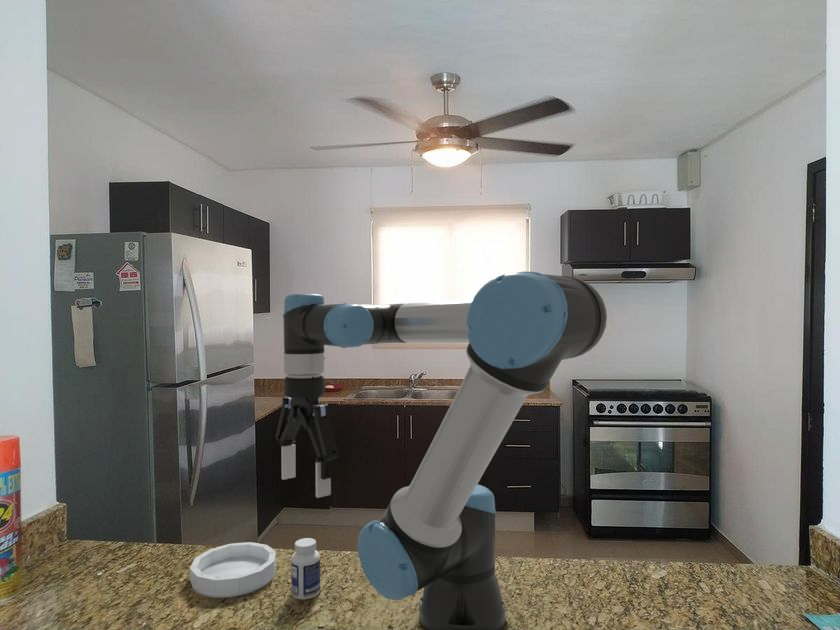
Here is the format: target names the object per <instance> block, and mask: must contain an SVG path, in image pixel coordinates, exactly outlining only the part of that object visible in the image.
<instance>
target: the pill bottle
mask: <svg viewBox="0 0 840 630" xmlns="http://www.w3.org/2000/svg"><path fill="white" fill-rule="evenodd" d="M320 556H321V555H320V552H319V551H318V550H317V540H316V539H314V538H311V537H304V538H300V539H297V540H296V541H295V542H294V553H293V554H292V555H291V559H290V569H291V570H290V576H291V577H290V578H291V579H290V581H291V587H290V588H291V589H290V590H291V596H292V597H293V598H294V599H296V600H311V599H313V598H315V597H317V596H318V595H319V594H320V592H321V557H320Z"/></svg>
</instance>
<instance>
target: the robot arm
mask: <svg viewBox="0 0 840 630" xmlns="http://www.w3.org/2000/svg"><path fill="white" fill-rule="evenodd" d="M283 305H284V309H283V313H282V314H283V315H282V317H283V349H284V350H283V374H285V375H287V376H285V378H283V382H284V383H283V384H284V385H283V387H284V389H283V391H284V396H283V397H282V400H281V401H282V402H281V403H282V405H281V411H280V416H279V418H278V419H279V421H278V422H277V423H278V424H277V428H276V432H275V440H276V441H279V445H280V446H281V448H280V449H281V453H280V454H281V459H280V461H281V464H280V465H281V480H283V481H284V480H288V479H293V478H296V477H297V473H296V472H297V470H296V469H297V468H296V467H297V466H296V465H297V464H296V459H297V455H296V449H297V447H296V443H297V442H296V437H297V434H298V432H299V430H300V428H301V426H303V428H304V430H305V431H307V432H308V435H309V437H310V440H311V443H312V446H313V449H314V452H315V454H316V458H315V460H314V462H315V497H316V498H317V499H319V498H322V497H327V496H331V495H332V486H331V485H332V480H331V479H332V478H331V477H332V461H333V460H334V459H338V458H339V456H340V455H339V450H338V446H337V443H336V442H337V441H336V438H335V434H334V430H333V426H332V422H331V418H330V407H329V405H328V403H324V404H320V401H319V399H320V397H322V396H324V394H325V393H326V391H325V389H326V387H325V380H326V379H325V376H324V375H322V374H324V373H325V360H326V357H325V346H330V347H338V348H339V347H340V348H342V349H346V348H358V347H362V346H363V345H364V346H366V345H375V344H376V345H377V344H407V343H408V344H409V343H413V344H415V343H416V344H417V343H419V344H420V343H422V344H426V343H428V344H429V343H434V344H435V343H436V344H437V343H439V344H442V343H444V344H446V343H448V344H449V343H450V344H453V343H454V344H459V343H460V344H462V343H463V344H464V343H466V344H467V347H466V351H465V353H466V355H467V358H468V359H469V362H470V366H469V368H468V370H467V372H466V374H465V376H464V378H463V380H462V382H461V384H460V386H459V388H458V390H457V392H456V393H455V396H454V398H453V400H452V402H451V404H450V406H448V407H449V408H448V409H447V412H446V413H445V415H444V417H443V419H442V421H441V423H440V425H439V426H438V429H437V431H436V433H435V435H434V437H433V439H432V441H431V443H430V446H429V447H428V448H427V451H426V453H425V455H424V457H423V459H422V461H421V463H420V464H419V467H418V469H417V470H416V473H415V475H414V477H413V479H412V480H411V482H410V484H409V485H408V486H403V487H402V488H400V489H398V490H397V491H396V492H395V493H394V495H393V496H392V498H391V500H390V502H389V504H388V506H387V507H386V510H385V512H384V514H383V515H382V516H381V517H380V518H378V519H376V520H375V519H374V520H371V521H370V522H368V523H367V524H366V525H365V526H363V528H362V529H361V530H360V532H359V535H358V539H357V555H358V558H359V560H360V561H359V562H360V566H361V568H362V572H363V574H364V577H366V579H367V581H368V582H369V584H370V585H371V587H372V588H373V589H374V590H375V592H376V593H378V594H379V595H380V596H382V597H384V598H385V599H388V600H391V601H401V600H403V599H406V598H408V597H413V596H415V594H417V593H418V591H420V590H422V589H423V591H422V594H421V595H420V598H419V602H418V619H419V622H420V624H421V625H422V627H424V629H426V630H503V627H504V626H505V623H506V604H505V601H504V597H503V596H502V593H501V588H500V585H499V581H498V579H497V575H496V514H497V510H496V501H495V496H494V493H493V492H492V491H491V490H490V489H489V488H487V487H486V486H483V485H481V484H479V482H480V480H481V479H482V477H483V475H484V473H485V471H486V469H487V467H488V466H489V464H490V462H491V461H492V459H493V457H494V455H495V454H496V453H497V450H498V448H499V447H500V445H501V443H502V441H503V440H504V438H505V436H506V434H507V433H508V430H509V429H510V428H511V426H512V423H513V422H514V420H515V418H516V417H517V415H518V413H519V412H520V409H521V407H523V404H524V403H525V400H526V399H527V397H528V396H531V395H536V394H541V393H543V392H544V391H545V389H547V387H548V384H549V383H550V382H551V379H552V378H553V376H554V375H555V372H556V371H557V369H558V367H559V366H560V364H561V362H562V361H564V360H568V359H575V358H577V357H580V356H583V355H584V354H586V353H588V352H589V351H591V350H592V349H593V348H595V347H596V346H597V345H598V343H599V342H600V340H601V339H602V337H603V335H604V333H605V331H606V326H607V322H608V321H607V320H608V314H607V308H606V305H605V301H604V300H603V297H602V296H601V294H600V292H599V291H598V290H597V289H596V288H595V287H594V286H592V285H591V284H590V283H588V282H586V281H585V280H583V279H581V278H577V277H575V276H568V275H553V274H544V273H541V272H536V271H527V270H526V271H523V270H522V271H516V272H509V273H505V274H501V275H498V276H496V277H494V278H492V279H491V280H489V281H487V282H486V283H485V284H484V285H483V286H482V287H481V288H480V289H479V290H478V291H477V293H476V294H475V295H474V297H472V298H463V299H448V300H435V301H434V300H433V301H420V302H407V303H390V304H383V303H382V304H367V303H365V304H364V303H363V304H355V303H347V302H346V303H344V302H343V303H335V304H334V303H333V304H326V303H325V298H324V296H323V295H322V294H316V293H313V294H312V293H300V294H296V293H293V294H287V296H285V298H284V304H283Z"/></svg>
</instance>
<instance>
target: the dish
mask: <svg viewBox="0 0 840 630" xmlns="http://www.w3.org/2000/svg"><path fill="white" fill-rule="evenodd" d="M276 567H277V550H276V551H275V549H274V548H272V547H271V546H269V545H268V544H264V543H258V542H252V541H251V542H250V541H248V542H247V541H246V542H235V543H234V542H233V543H228V544H223V545H220V546H217V547H214V548H210V549H208V550H207V551H205V552H202V553H201V554H200V555H197V556H195V558H194V559H193V561H192V563H191V565H190V567H189V581H190V583H191V587H192V590H193V591H194V592H195V593H197V594H198V595H200V596H203V597H207V598H213V599H226V598H234V597H240V596H243V595H247V594H250V593H251V594H252V592H253V593H254V592H256V591H258V590H259V589H262V588H264V587H265V586H267V585H268V584H269V583H270V582H271V581H273V579H274V577H275V574H276Z"/></svg>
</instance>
